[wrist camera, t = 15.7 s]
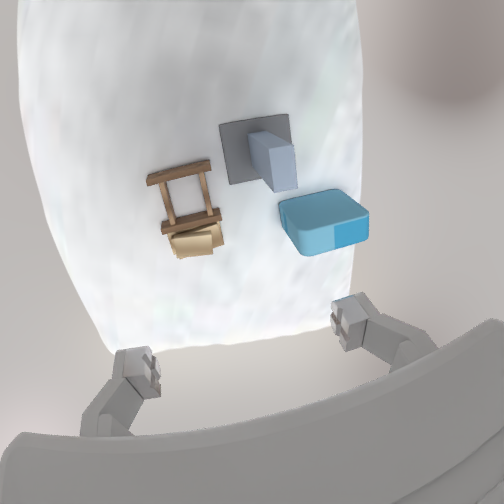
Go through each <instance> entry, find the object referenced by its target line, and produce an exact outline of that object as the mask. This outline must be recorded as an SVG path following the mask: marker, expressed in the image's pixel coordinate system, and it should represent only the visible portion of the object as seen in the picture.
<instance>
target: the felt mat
mask: <svg viewBox="0 0 504 504" xmlns="http://www.w3.org/2000/svg"><path fill="white" fill-rule="evenodd" d="M219 129H220V134H221V140H222V145H223V151H224V156H225V161H226V167H227V172H228V177H229V183H230V185H233V184H237V183H242V182H247V181H252V180H257V179H262V177H261V176H260V175H259V174H258V173H257V171H256V170H255V169H254V168H253V167H252V161H251V154H250V148H249V142H248V135H247V134H249V133H255V132H261V131H268V132H270V133H272V134H274V135H276V136H277V137H279V138H281V139H283V140H285V141H287V142H289V143H291V144H292V141H291V132H290V124H289V115H288V114H283V115H275V116H268V117H261V118H255V119H249V120H243V121H237V122H231V123H226V124H221V125H219Z"/></svg>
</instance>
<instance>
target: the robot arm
mask: <svg viewBox="0 0 504 504" xmlns="http://www.w3.org/2000/svg"><path fill="white" fill-rule="evenodd" d="M331 309H332V311H333V312H332V314H331V315H330V321H331V326H332V329H333V331H334V333H335V335H337V336H340V340H339V342H340V344H341V345H342V347H343V349H344V351H345V352H347V351H350V350H353V349H356V348H359V347H362V348H364V349H366V350H367V351H369V352H370V353H372V354H374V355H375V356H377V357H378V358H380V359H382V360H383V361H385V362H387V363H389V364H390V365H392V366H391V368H390V371H389V373H388V374H386V375H384V376H382V377H380V378H377V379H375V380H373V381H370V382H368V383H365V384H363V385H360V386H358V387H355V388H353V389H350V390H347V391H345V392H342V393H339V394H336V395H334V396H331V397H328V398H325V399H322V400H319V401H316V402H313V403H310V404H306V405H303V406H300V407H297V408H293V409H290V410H286V411H282V412H279V413H275V414H271V415H267V416H263V417H259V418H255V419H251V420H246V421H242V422H237V423H232V424H227V425H221V426H216V427H211V428H204V429H197V430H191V431H183V432H175V433H166V434H155V435H143V436H135V435H133V434H132V433H131V432H130V431H128V430H129V428H130V426H131V424H132V422H133V420H134V418H135V416H136V415H137V413H138V411H139V409H140V407H141V405H142V404H143V401H144V399H151V398H158V397H161V384H159V381H158V380H159V378H160V377H161V370H160V365H159V363H158V360H157V359H156V357H154V356H152V350H151V349H150V347H149V346H143V347H136V348H129V349H123V350H117V352H116V354H115V360H114V367H113V374H112V379H110V380H108V382H107V383H106V384H105V386H104V387H103V388H102V389H101V391H100V392H99V393H98V395H97V396H96V397H95V398H94V400H93V401H92V402H91V403H90V405H89V406H88V407H87V409H86V410H85V411H84V413H83V414H82V421H81V429H80V437H78V436H77V437H76V436H58V435H46V434H37V433H29V432H22V433H20V434H19V435H18V436H17V437H16V438H15V439H14V440H13V441H12V442H11V443H10V444H9V446H8V447H7V448H6V449H5V451H4V453H3V455H2V458H1V461H0V504H504V322H503V321H500V320H497V319H493V318H490V319H487V320H485V321H484V322H482V323H481V324H479V325H478V326H476V327H475V328H473V329H471V330H470V331H468V332H466V333H465V334H463V335H462V336H460V337H458V338H457V339H455V340H453V341H451V342H450V343H448V344H446V345H444V346H443V347H441V348H438V347H437V346H436V344H435V343H434V342H433V340H431V338H430V337H429V335H428V334H427V333H426V331H424V330H422V329H419V328H417V327H414V326H412V325H410V324H407V323H405V322H402V321H400V320H398V319H395V318H393V317H391V316H388V315H386V314H380V313H379V311H378V310H377V309H376V308H375V306H374V305H373V304H372V302H371V301H370V300H369V298H368V297H367V296H366V295H365V293H363V292H360V293H357V294H354V295H351V296H348V297H344V298H341V299H338V300H335V301H332V303H331Z"/></svg>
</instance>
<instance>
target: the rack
mask: <svg viewBox="0 0 504 504" xmlns="http://www.w3.org/2000/svg"><path fill="white" fill-rule="evenodd" d="M207 171H211V165H210V161H209V160H206V161H202V162H197V163H193V164H189V165H185V166H181V167H177V168H173V169H169V170H165V171H161V172H158V173H154V174H150V175H148V177H147V179H146V183H147V186H151V185H155V184H158V183H159V186H160V190H161V194H162V197H163V201H164V204H165V208H166V211H167V214H168V218H169V220H167V221H163V222H162V225H161V232H162V235H164V234H168V233H172V232H176V231H180V230H184V229H188V228H192V227H196V226H201V225H205V224H209V223H213V222H218V221H222V217H221V213H220V209H219V208H216V209H212V207H211V202H210V198H209V193H208V189H207V184H206V179H205V175H204V172H207ZM198 173H199V177H200V182H201V186H202V190H203V195H204V199H205V203H206V208H207V211H203V212H199V213H195V214H191V215H187V216H183V217H179V218H176V217H175V213H174V210H173V206H172V202H171V199H170V195H169V192H168V188H167V184H166V181H170V180H174V179H177V178H181V177H186V176H190V175H194V174H198Z"/></svg>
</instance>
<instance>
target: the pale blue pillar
mask: <svg viewBox="0 0 504 504" xmlns="http://www.w3.org/2000/svg"><path fill="white" fill-rule="evenodd" d="M247 135H248V142H249V148H250V154H251V161H252V167H253V168H254V169H255V170H256V171H257V173H258V174H259V175H260V176H261V177H262V179H263V180H264V181H265V182H266V183H267V185H268V186H269V187H270V188H271V189H272V191H273V192H274V193H277V192H282V191H287V190H292V189H297V188H298V184H297V173H296V163H295V153H294V145H293V144H291V143H289V142H287V141H285V140H283V139H281V138H279V137H277V136H276V135H274V134H272V133H270V132H268V131H261V132H255V133H249V134H247Z"/></svg>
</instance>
